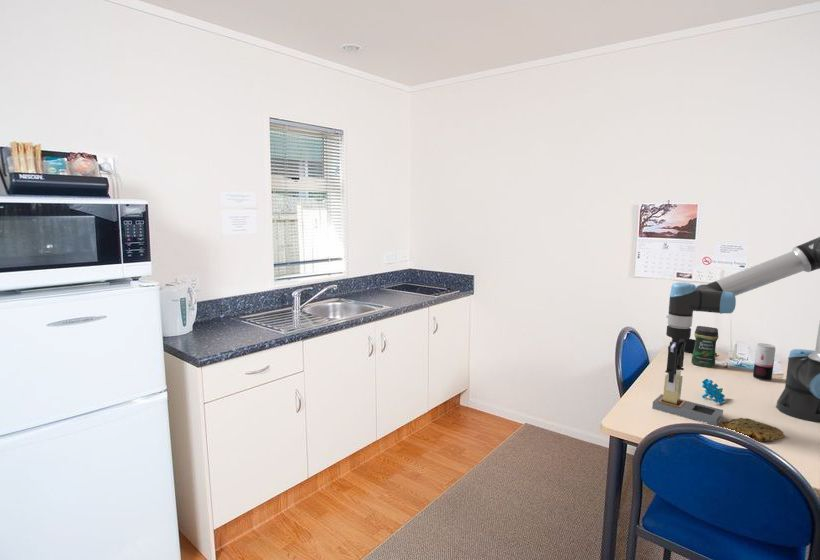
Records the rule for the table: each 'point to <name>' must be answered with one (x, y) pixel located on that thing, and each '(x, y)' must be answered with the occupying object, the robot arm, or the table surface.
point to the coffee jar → (705, 346)
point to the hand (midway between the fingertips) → (672, 388)
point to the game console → (690, 346)
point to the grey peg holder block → (690, 410)
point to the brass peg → (673, 396)
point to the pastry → (754, 429)
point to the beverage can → (764, 362)
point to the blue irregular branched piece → (713, 391)
